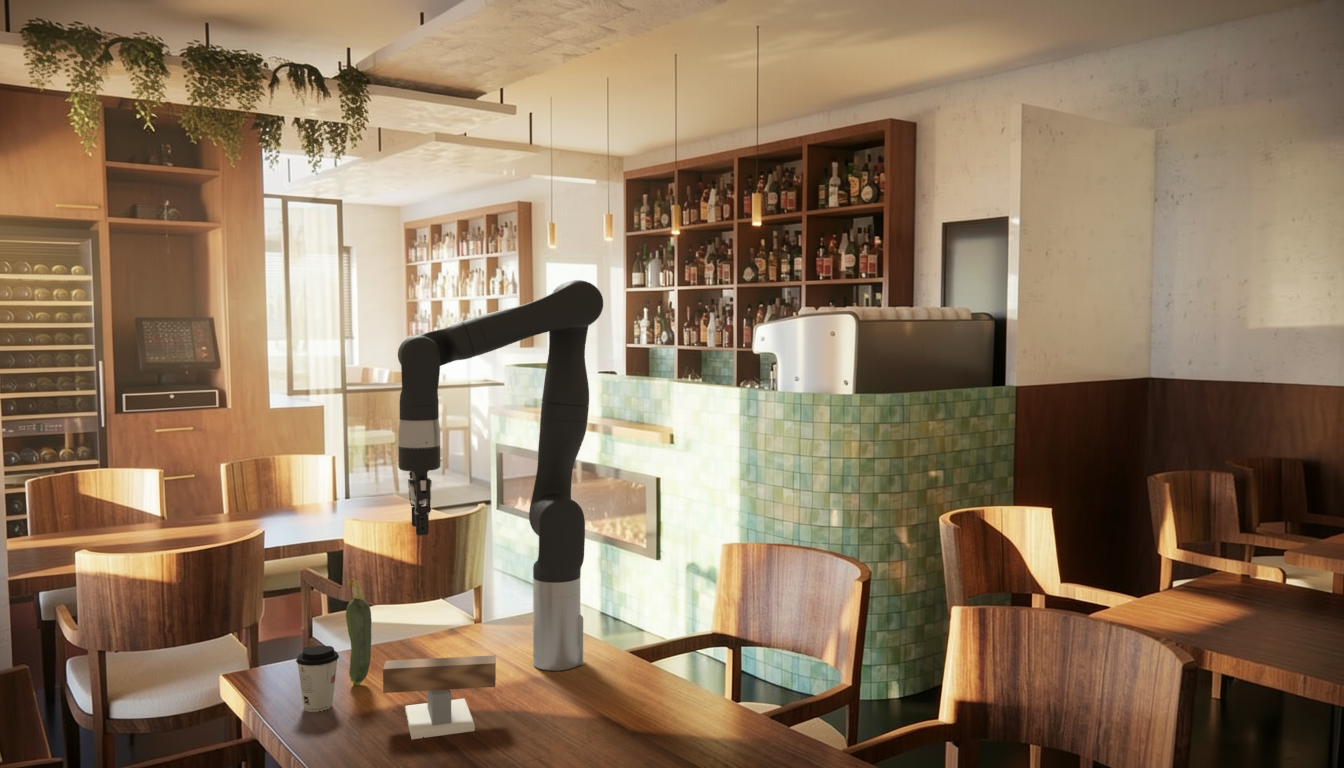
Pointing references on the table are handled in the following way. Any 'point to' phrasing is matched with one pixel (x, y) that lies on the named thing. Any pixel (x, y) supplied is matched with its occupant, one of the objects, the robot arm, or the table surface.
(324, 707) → the coffee cup
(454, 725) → the fulcrum
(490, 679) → the beam
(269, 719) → the table surface
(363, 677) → the vegetable
